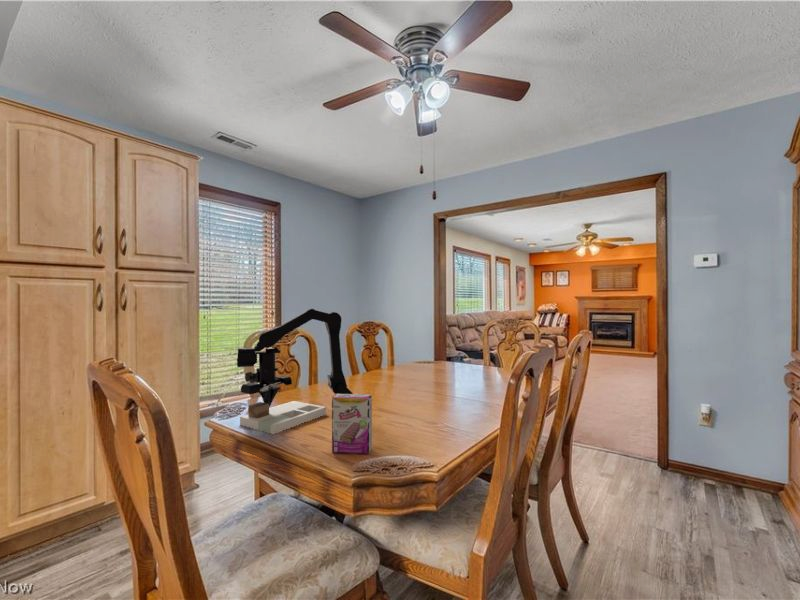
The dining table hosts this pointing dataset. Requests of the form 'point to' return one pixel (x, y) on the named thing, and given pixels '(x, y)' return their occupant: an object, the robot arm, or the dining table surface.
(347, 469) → the dining table surface
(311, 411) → the board
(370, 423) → the candy bar box
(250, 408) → the walnut block
